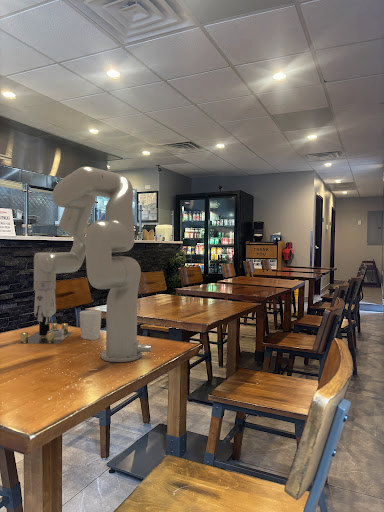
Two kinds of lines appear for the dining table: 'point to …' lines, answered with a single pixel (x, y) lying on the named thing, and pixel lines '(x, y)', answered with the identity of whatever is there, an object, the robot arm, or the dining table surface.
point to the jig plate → (45, 336)
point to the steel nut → (57, 333)
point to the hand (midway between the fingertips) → (44, 334)
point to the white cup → (90, 324)
